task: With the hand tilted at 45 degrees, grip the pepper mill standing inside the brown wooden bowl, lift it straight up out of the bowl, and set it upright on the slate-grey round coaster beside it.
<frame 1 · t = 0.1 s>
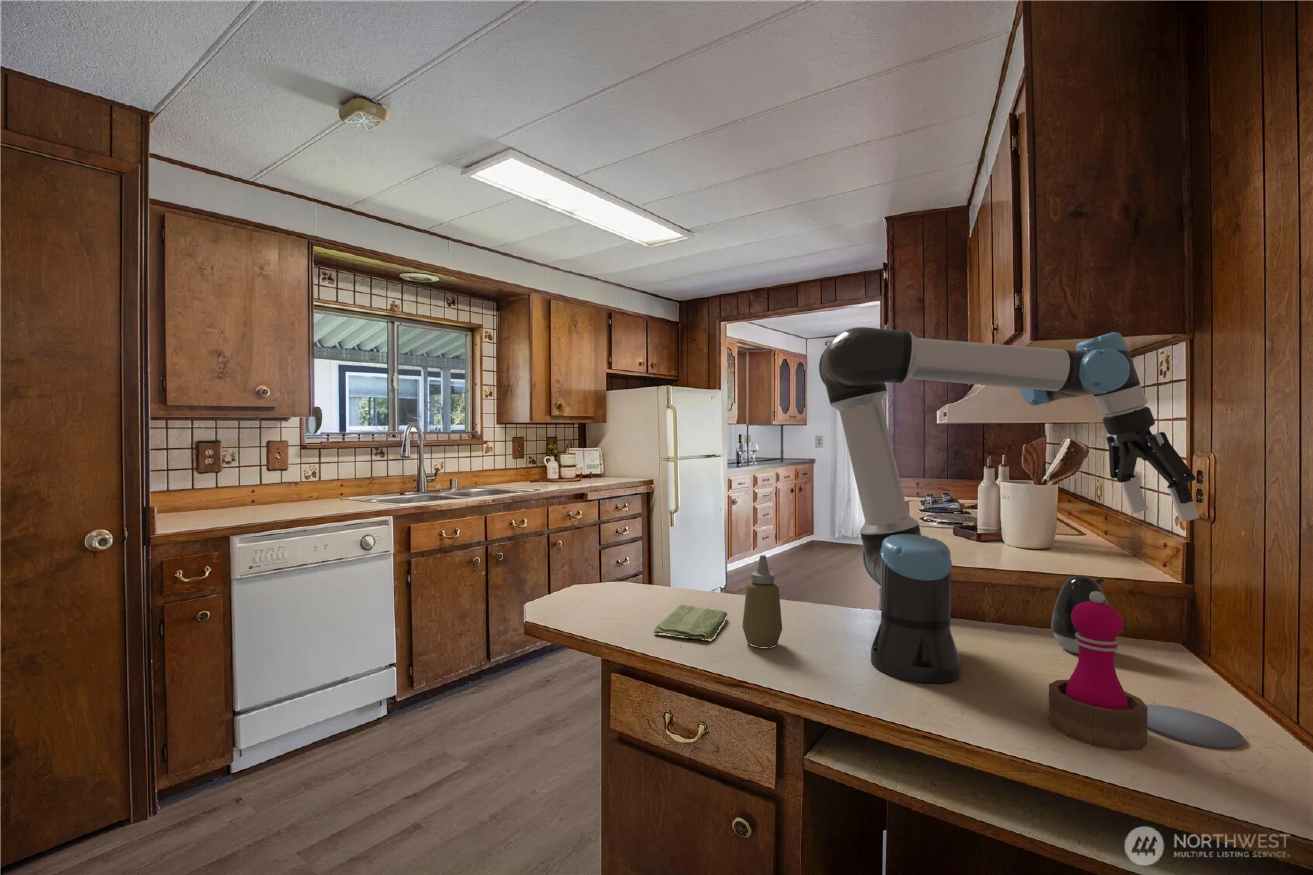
hand: (1163, 515, 113), 28 cm above the counter, tool tilted 20°, fingers open, 13 cm apart
pepper mill: (1095, 731, 84), resting in brown wooden bowl
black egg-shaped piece: (1082, 652, 116), on the counter
brown wooden bowl: (1095, 729, 84), on the counter
washcloth: (693, 630, 129), on the counter
squeeze bottle: (762, 645, 118), on the counter
coaster: (1184, 727, 85), on the counter
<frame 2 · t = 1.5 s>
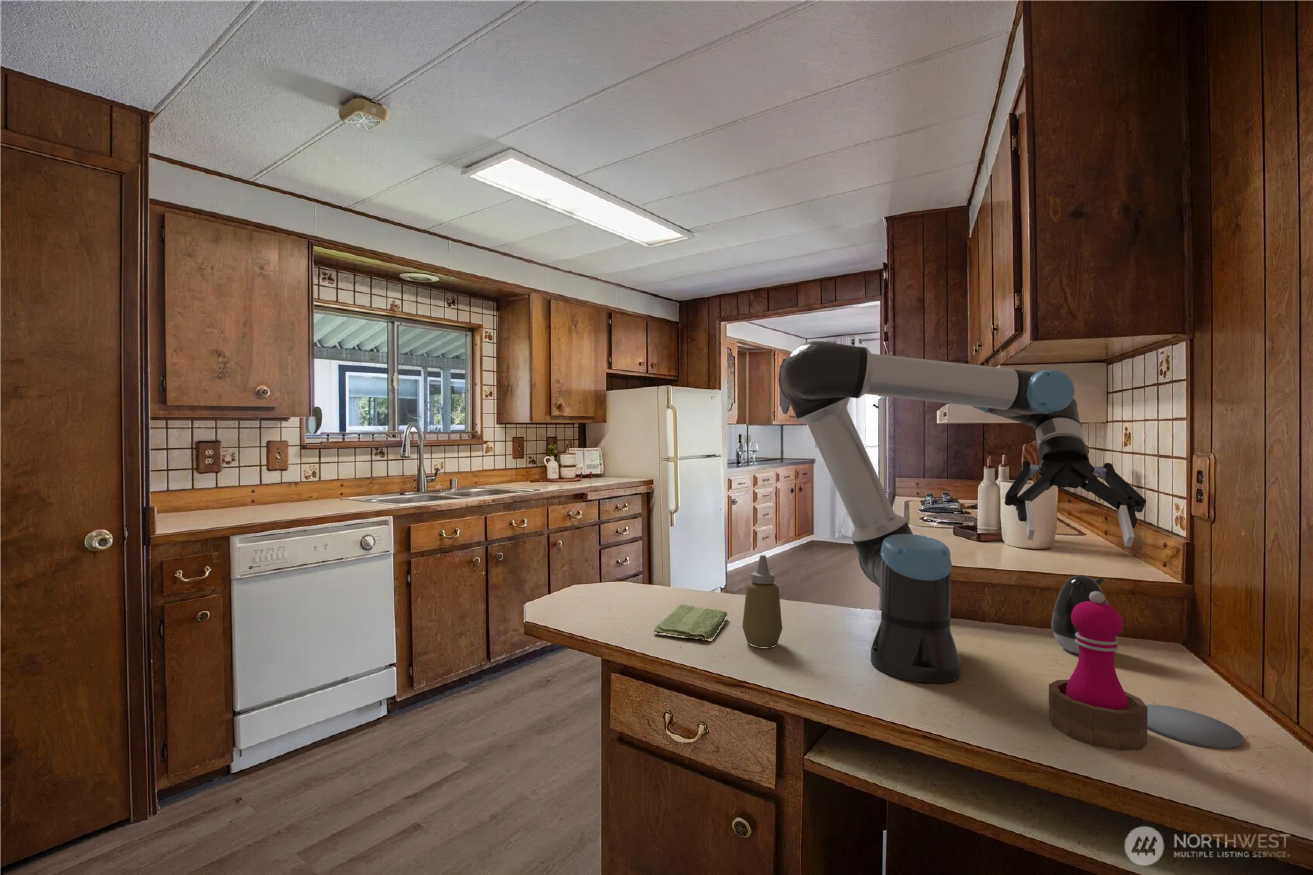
hand: (1079, 538, 97), 26 cm above the counter, tool tilted 45°, fingers open, 13 cm apart
nothing on the counter moved.
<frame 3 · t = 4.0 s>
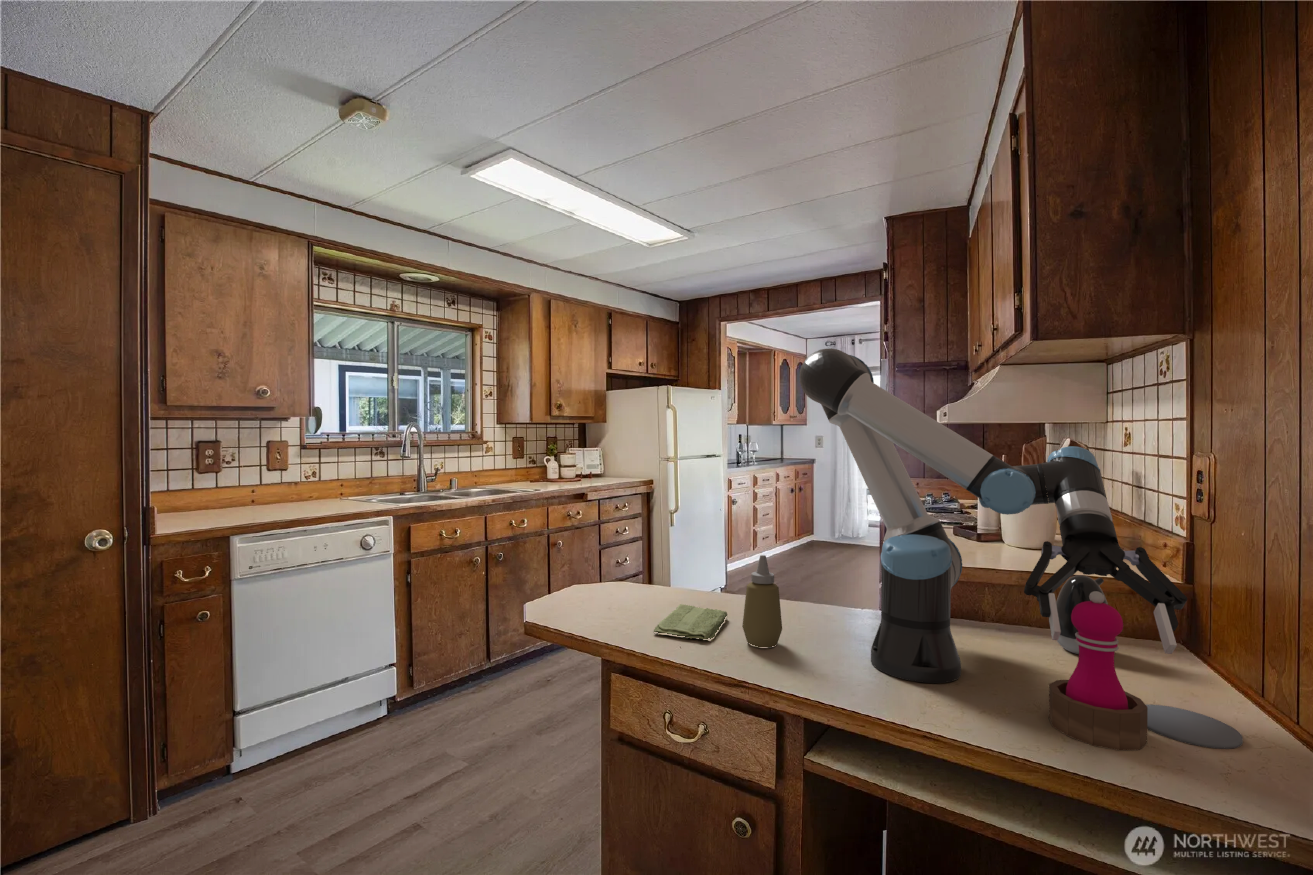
hand: (1111, 642, 85), 12 cm above the counter, tool tilted 45°, fingers open, 13 cm apart
nothing on the counter moved.
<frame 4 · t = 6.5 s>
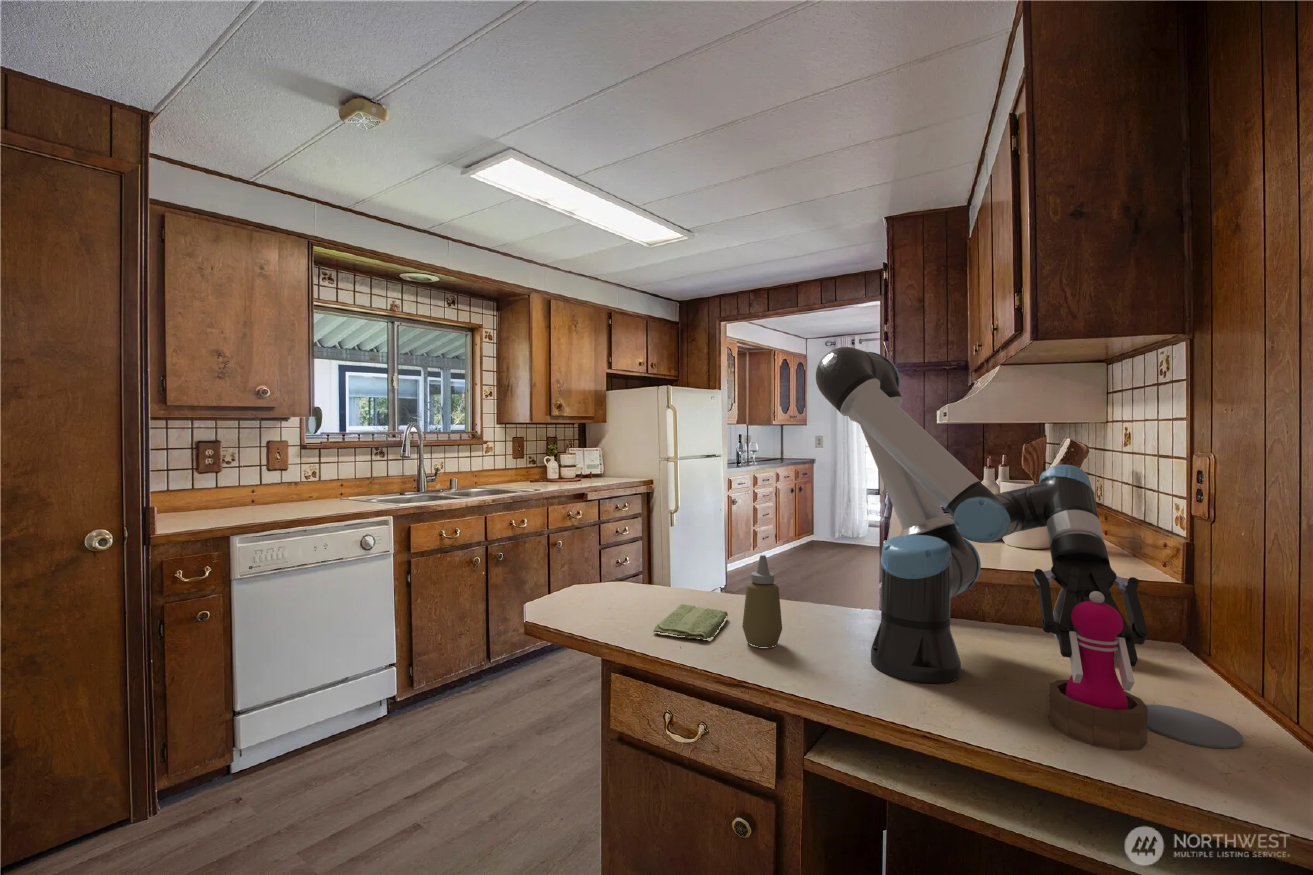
hand: (1103, 681, 81), 8 cm above the counter, tool tilted 45°, fingers closed on pepper mill, 5 cm apart
pepper mill: (1095, 731, 84), resting in brown wooden bowl, touching gripper
everything else where it was.
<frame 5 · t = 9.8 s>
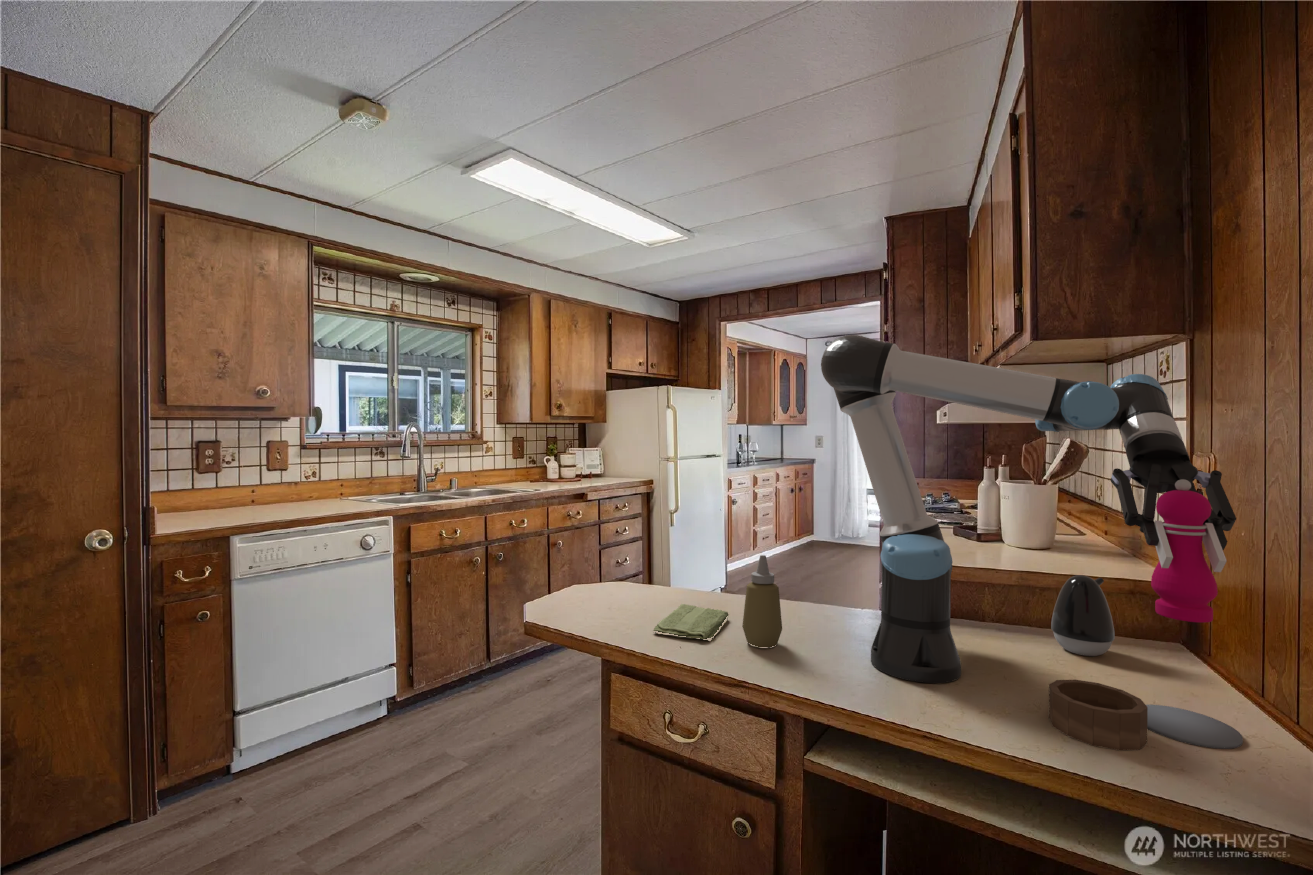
hand: (1193, 564, 82), 25 cm above the counter, tool tilted 45°, fingers closed on pepper mill, 5 cm apart
pepper mill: (1183, 617, 85), point 16 cm above the counter, touching gripper
everything else where it was.
when the fingers open (10 cm above the counter, at t = 13.3 s): pepper mill stays where it is, resting on coaster.
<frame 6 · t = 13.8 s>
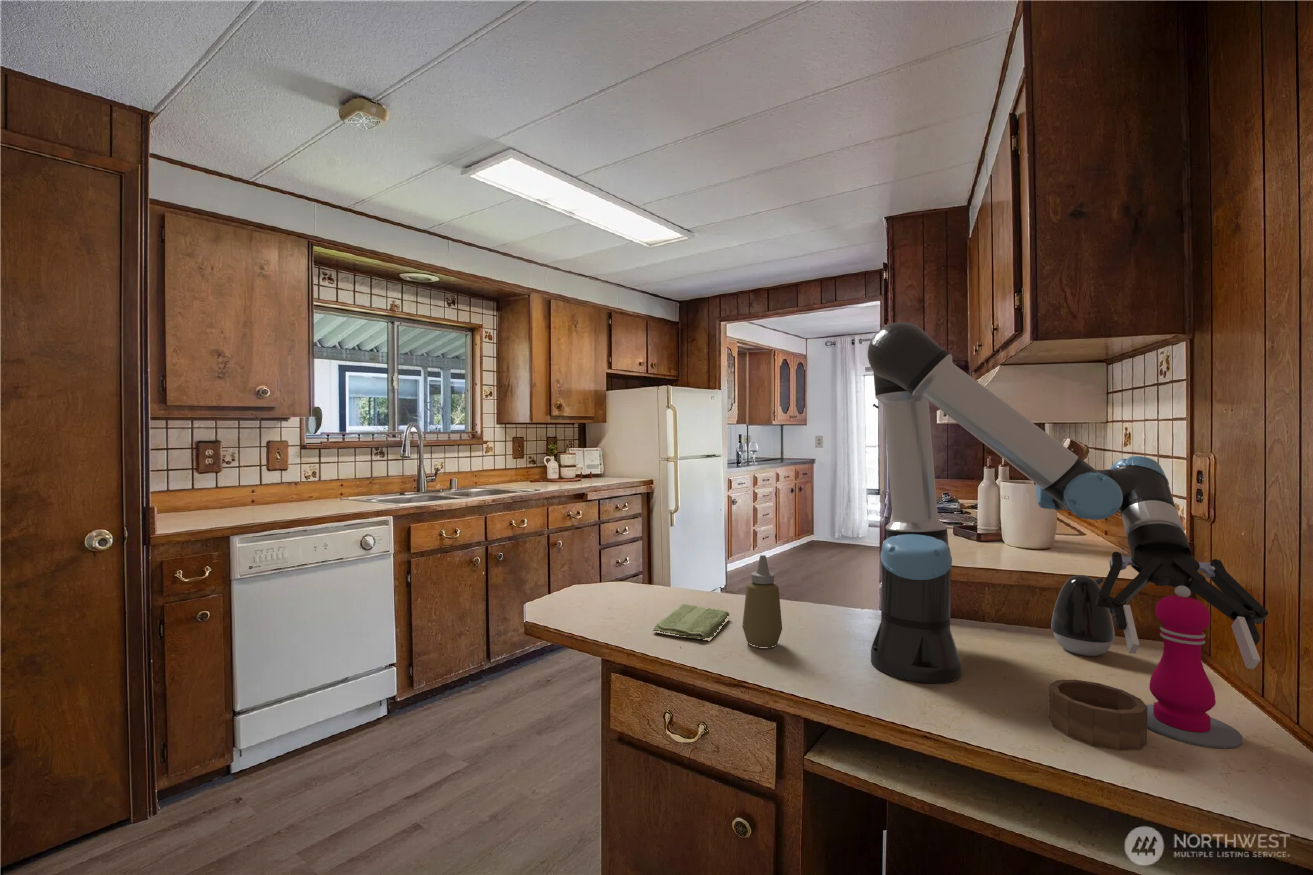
hand: (1191, 656, 83), 11 cm above the counter, tool tilted 45°, fingers open, 12 cm apart
pepper mill: (1181, 723, 86), resting on coaster
everything else where it was.
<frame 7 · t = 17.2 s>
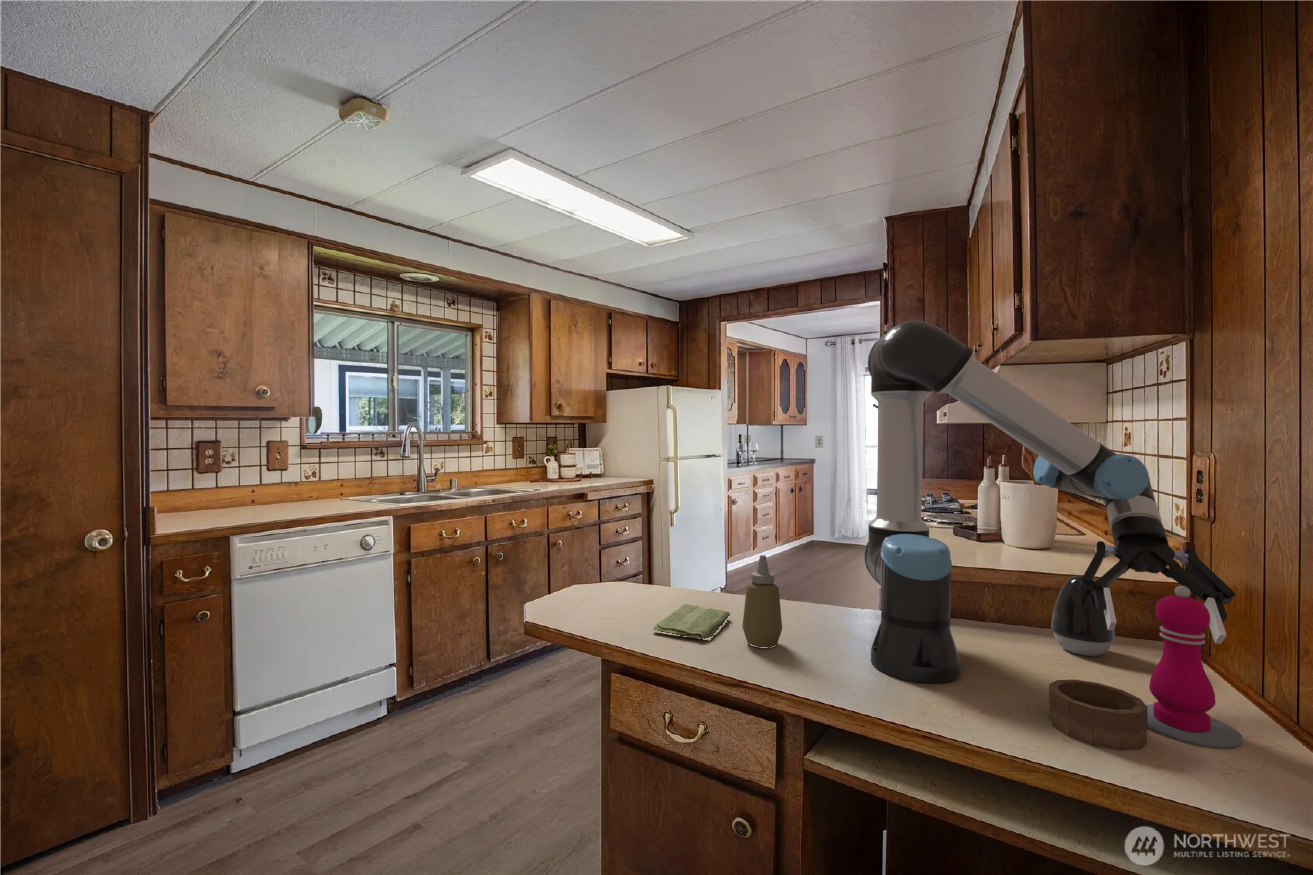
hand: (1164, 632, 93), 11 cm above the counter, tool tilted 45°, fingers open, 13 cm apart
nothing on the counter moved.
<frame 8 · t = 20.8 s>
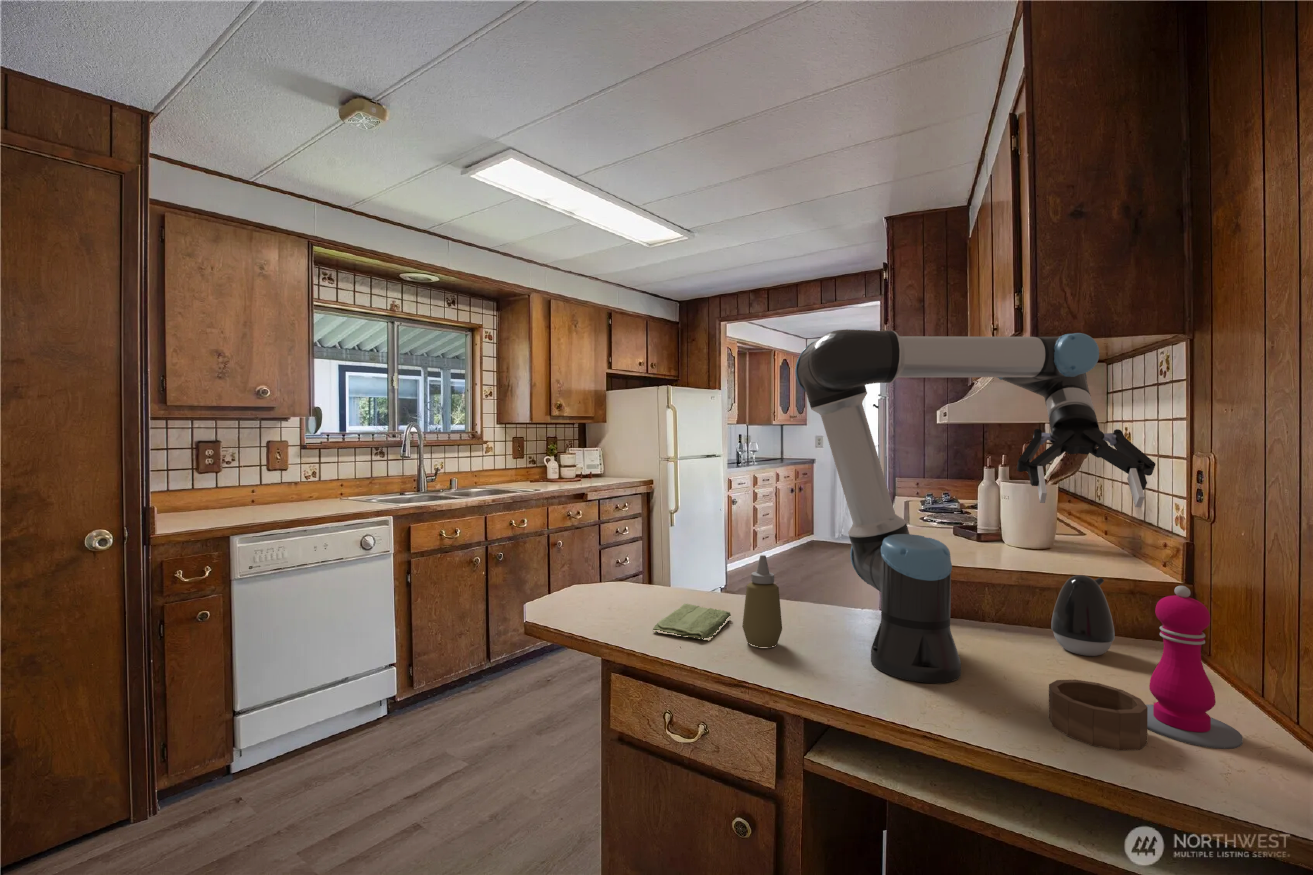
hand: (1090, 500, 100), 32 cm above the counter, tool tilted 45°, fingers open, 13 cm apart
nothing on the counter moved.
at the end: pepper mill 0.4 cm from the coaster (horizontally); pepper mill tilted 0°; the gripper is holding nothing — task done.
